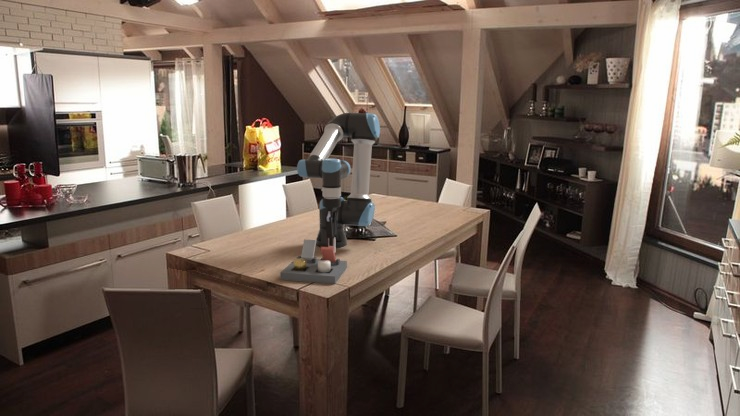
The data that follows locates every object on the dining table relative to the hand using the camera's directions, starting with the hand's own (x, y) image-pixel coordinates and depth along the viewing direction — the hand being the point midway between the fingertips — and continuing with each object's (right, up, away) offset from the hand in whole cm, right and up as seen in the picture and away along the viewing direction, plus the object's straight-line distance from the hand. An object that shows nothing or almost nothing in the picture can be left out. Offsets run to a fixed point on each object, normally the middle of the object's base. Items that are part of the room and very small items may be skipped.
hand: (332, 252), depth 209 cm
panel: (-7, -8, -5) cm, 12 cm away
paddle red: (-1, -3, -2) cm, 4 cm away
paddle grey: (-10, -3, 0) cm, 11 cm away
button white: (-2, -6, -11) cm, 12 cm away
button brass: (-12, -6, -9) cm, 16 cm away
